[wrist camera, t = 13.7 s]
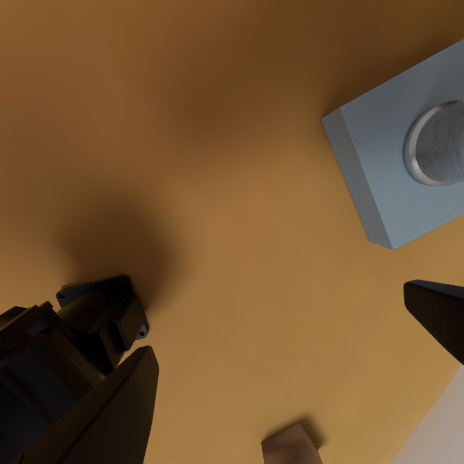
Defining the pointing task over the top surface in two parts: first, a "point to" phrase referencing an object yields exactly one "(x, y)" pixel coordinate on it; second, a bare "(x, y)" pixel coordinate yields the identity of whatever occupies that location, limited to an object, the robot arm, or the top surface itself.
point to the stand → (396, 150)
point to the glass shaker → (436, 145)
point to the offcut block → (290, 448)
